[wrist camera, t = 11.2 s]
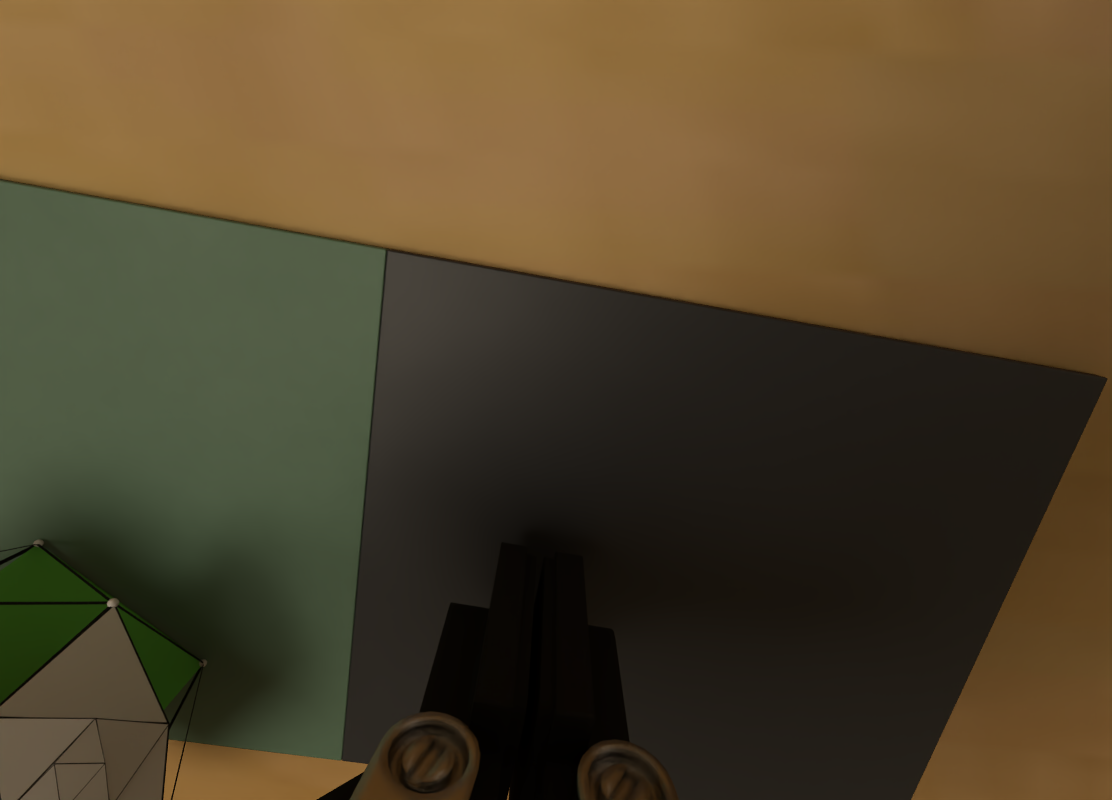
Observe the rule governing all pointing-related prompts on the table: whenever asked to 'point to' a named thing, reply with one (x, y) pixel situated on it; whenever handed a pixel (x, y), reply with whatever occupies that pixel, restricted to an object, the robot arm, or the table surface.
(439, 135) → the table surface
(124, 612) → the geometric puzzle
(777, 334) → the desk pad
